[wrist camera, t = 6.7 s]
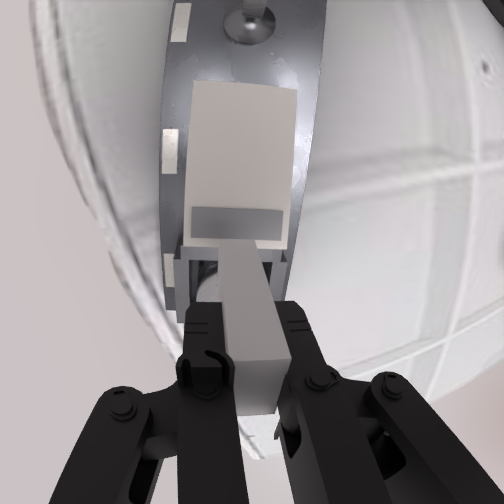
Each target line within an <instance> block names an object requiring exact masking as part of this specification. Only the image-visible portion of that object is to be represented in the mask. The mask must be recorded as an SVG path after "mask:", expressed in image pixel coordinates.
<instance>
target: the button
mask: <svg viewBox="0 0 504 504" xmlns="http://www.w3.org/2000/svg"><path fill="white" fill-rule="evenodd" d="M217 279H218V261H212V260H204V261H203V262H202V264H201V266H200V268H199V271H198V282H197V297H196V302H217Z"/></svg>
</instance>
